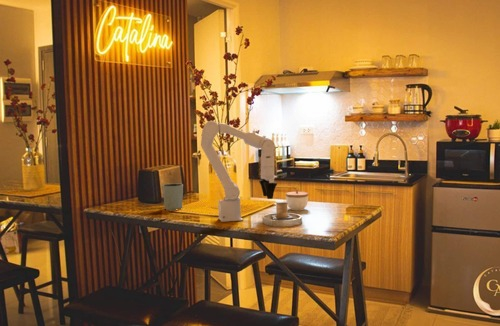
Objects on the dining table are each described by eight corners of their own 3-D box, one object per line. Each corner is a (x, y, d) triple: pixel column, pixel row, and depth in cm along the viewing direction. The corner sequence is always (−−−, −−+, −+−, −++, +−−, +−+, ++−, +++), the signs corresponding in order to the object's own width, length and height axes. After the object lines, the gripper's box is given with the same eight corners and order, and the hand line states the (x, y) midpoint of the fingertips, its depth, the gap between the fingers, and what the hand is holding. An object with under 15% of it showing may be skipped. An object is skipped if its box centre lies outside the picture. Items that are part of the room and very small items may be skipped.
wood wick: (278, 222, 213) (277, 203, 212) (276, 221, 215) (276, 202, 215) (287, 221, 214) (287, 202, 213) (285, 220, 216) (285, 201, 216)
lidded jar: (282, 208, 246) (281, 189, 245) (302, 206, 250) (302, 187, 249) (291, 212, 236) (291, 192, 235) (312, 210, 240) (312, 190, 239)
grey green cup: (185, 207, 255) (185, 183, 254) (181, 210, 245) (180, 186, 244) (165, 207, 256) (165, 183, 255) (160, 210, 246) (159, 186, 245)
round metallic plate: (268, 227, 205) (268, 221, 205) (259, 219, 221) (259, 214, 221) (306, 225, 209) (306, 219, 208) (294, 217, 224) (294, 211, 224)
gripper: (280, 167, 215) (281, 199, 216) (272, 164, 229) (272, 194, 230) (264, 168, 214) (264, 200, 215) (257, 164, 228) (257, 195, 229)
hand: (267, 197), depth 222 cm, fingers open, 7 cm apart
